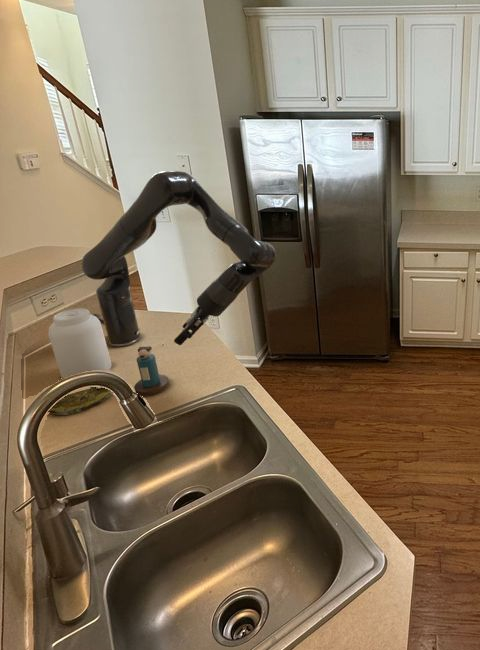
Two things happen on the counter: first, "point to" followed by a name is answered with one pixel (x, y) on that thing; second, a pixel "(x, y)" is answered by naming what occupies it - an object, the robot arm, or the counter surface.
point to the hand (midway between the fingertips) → (181, 335)
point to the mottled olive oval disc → (80, 401)
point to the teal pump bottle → (147, 367)
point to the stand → (154, 389)
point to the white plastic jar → (78, 342)
